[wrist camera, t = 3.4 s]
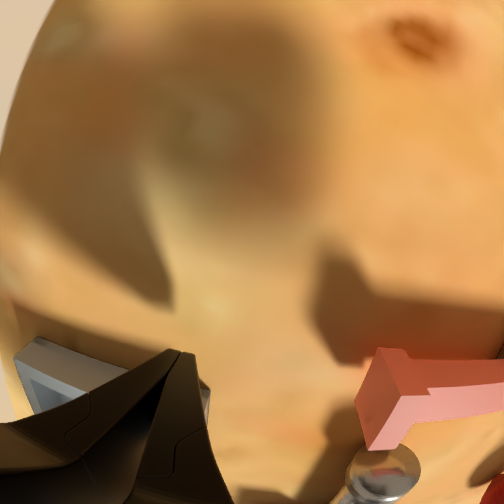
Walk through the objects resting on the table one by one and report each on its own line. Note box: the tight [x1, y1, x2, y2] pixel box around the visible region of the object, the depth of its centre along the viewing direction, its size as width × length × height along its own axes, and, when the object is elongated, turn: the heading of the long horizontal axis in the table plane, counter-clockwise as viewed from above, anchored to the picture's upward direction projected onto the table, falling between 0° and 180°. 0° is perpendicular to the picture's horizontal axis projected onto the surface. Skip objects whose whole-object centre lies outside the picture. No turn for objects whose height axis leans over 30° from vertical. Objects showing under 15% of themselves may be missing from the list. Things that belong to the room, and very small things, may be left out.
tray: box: [13, 336, 211, 424], centre depth 12 cm, size 17×9×2 cm, turn 171°
